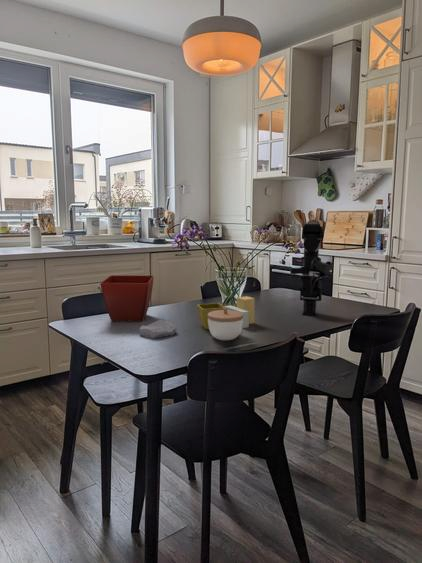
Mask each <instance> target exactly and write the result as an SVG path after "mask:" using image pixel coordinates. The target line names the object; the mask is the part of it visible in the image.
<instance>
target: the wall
mask: <svg viewBox="0 0 422 563" xmlns="http://www.w3.org/2000/svg"><path fill="white" fill-rule="evenodd" d="M224 307H225V308H227V310H233V311H238V312H241V313H243V326H242V329H247V328H249V326H250V324H249V311H246V310H243V309H240V308H237V306H234V305H227V306H226V305H225V306H224Z"/></svg>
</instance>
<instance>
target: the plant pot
mask: <svg viewBox="0 0 422 563" xmlns="http://www.w3.org/2000/svg"><path fill="white" fill-rule="evenodd" d="M153 285H154V275H134V274H133V275H128V274H127V275H119V274H118V275H109V276H108V277H106V278H104V280H102V281H101V282H100V288H101V289H100V290H101V293H102V297H103V302H104V304H105V307H106V310H107V313H108V316H109V318H110V321H111V322H114V321H130V322H134V323H135V322H137V323H138V322H139V323H140V322H143V321H144V319H145V317H146V315H147V314H148V309H149V306H150V302H151V297H152V292H153Z"/></svg>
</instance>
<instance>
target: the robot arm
mask: <svg viewBox="0 0 422 563" xmlns="http://www.w3.org/2000/svg"><path fill="white" fill-rule="evenodd" d="M303 224H304V225H303V226H302V227H301V228H302V230H301V240H302V241H303V245H302V246H303V256H301V260H303V261H302V262H303V266H292V267H290V273H289V274H290V275H298V274H299V275H298V277H299V278H300V279H301V281H302V284H301V285H302V286H300V288H299V290H300V293H299V301H302V303H303V304H302V310H301V315H305V316H318V311H317V304H318V303H317V302H321V301H322V298H323V297H322V295H323V293H322V292H323V291H322V290H321V286H320V285H319V283H320V282H319V279H321V278H330V273H331V271H332V270H333V269H334V266H333V265H334V263H333V262H332V261H326V262H324V261H322V257H320V256H319V252H320V247H321V242H323V238H324V227H323V226H321V223H320V221H318V220H309V221H307V223H306V222H305V223H303ZM319 286H320V287H319Z"/></svg>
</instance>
